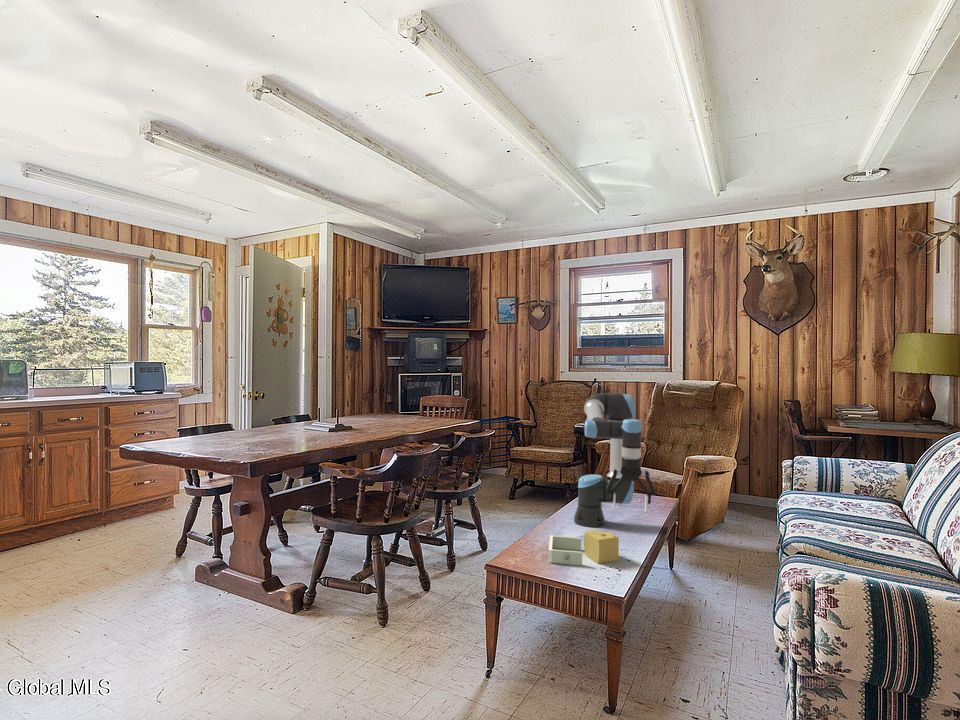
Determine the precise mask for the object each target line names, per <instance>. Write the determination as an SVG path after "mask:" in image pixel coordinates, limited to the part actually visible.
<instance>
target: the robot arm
mask: <svg viewBox="0 0 960 720" xmlns="http://www.w3.org/2000/svg"><path fill="white" fill-rule="evenodd" d="M583 410H584V414H585V415H586V416H587V417H586V418H587V419H586V420H585V421H584V436H585V437H586V438H592V439H610V445H609V446H610V449H609V450H610V452H609V457H610V458H609V472H608V473H607V474H606V478H603V475H601V474H585V475H582V476H580V478H579V479H578V485H577V488H578V490H577V491H578V495H577V508H576V511H575V513H574V515H573V516H574V517H573V522H574V523H575V524H577V525H579V526H583V527H589V528H590V527H591V528H596V527H597V528H598V527H602V526H604V525H605V524H606V519H605V515H604V511H603V505H602V503H605V504H606V503H607V504H608V503H610V504H612V510H613V511H616V504H620V505H623V504H624V505H628V504H629V505H630V503H631V502H632V501H633V497H634V491H635V482H636V481H637V483H638V484H639V486H641V488H642V489H643V490H644V492H645V493H646V494H645V495H644V513H646V514H648V513H649V505H651V503H652V502H651V500H652V496H656V494H657V493H656V491H655V488H654V486H653V483H652V481H651V479H650V472H649V471H648V470H647V469H646V470H642V469H641V468H642V467H641V466H642V465H641V463H642V459H641V457H642V434H643V433H642V431H643V427H642V426H643V425H642V421H641V420H640V419H635V418H636V407H635V401H634V397H633V396H632V395H631V394H626V393H596V394H593V395H591V396H590V397H589V398H587V400H586V401H585V402H584V405H583ZM605 417H606V418H607V420H606V418H605ZM642 475H643V476H644V477H645V480H646V482H647V484H648V486H649V490H650V491H649V490H648V488H647V487H646V485H645V484H644V483H643V481H642V480H641V478H640V477H641V476H642Z"/></svg>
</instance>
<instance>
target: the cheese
mask: <svg viewBox="0 0 960 720" xmlns="http://www.w3.org/2000/svg"><path fill="white" fill-rule="evenodd" d="M619 542H620V539H619V536H618V535H616V534H614V533H612V532H610V531H602V530H586V531H584V535H583V547H584V554H585V556H586V557H587V558H589V559H591V560H592V561H593V562H596V563H597V564H605V563H610V562H617V561H619V553H620V551H619V547H620V546H619V545H620V544H619Z"/></svg>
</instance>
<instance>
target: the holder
mask: <svg viewBox="0 0 960 720" xmlns="http://www.w3.org/2000/svg"><path fill="white" fill-rule="evenodd" d="M549 563H550V564H551V563H552V564H561V565H571V566H572V565H574V566H583V551H582V537H577V536H575V537H574V536H566V535H565V536H563V535H562V536H561V535H551V534H550V535H549V544H548V564H549Z"/></svg>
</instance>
